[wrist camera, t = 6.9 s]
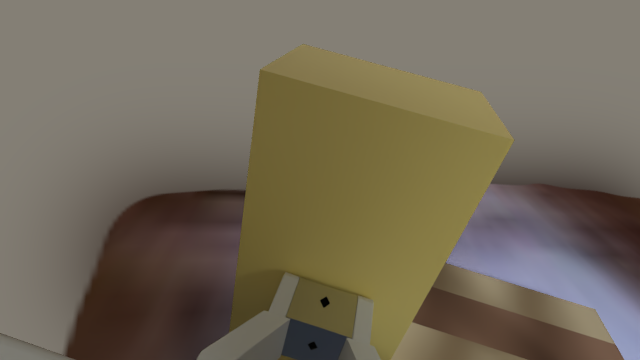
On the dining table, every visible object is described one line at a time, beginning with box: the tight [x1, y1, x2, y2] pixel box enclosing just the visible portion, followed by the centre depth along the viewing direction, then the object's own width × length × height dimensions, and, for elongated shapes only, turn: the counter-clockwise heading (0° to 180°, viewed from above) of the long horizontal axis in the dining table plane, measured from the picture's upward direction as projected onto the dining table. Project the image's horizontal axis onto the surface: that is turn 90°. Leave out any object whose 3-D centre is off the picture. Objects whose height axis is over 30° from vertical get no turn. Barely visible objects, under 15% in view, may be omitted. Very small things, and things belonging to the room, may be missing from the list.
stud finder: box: [229, 44, 514, 360], centre depth 13 cm, size 4×6×12 cm
